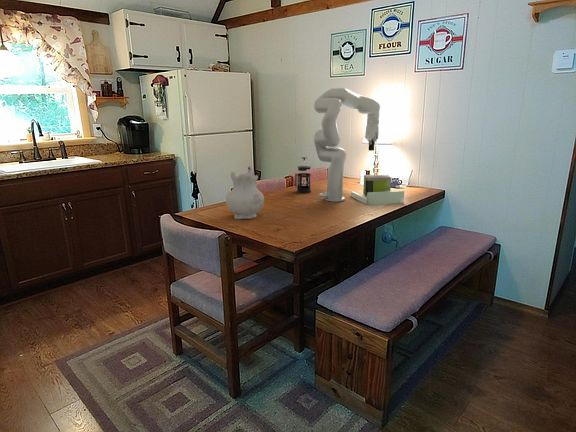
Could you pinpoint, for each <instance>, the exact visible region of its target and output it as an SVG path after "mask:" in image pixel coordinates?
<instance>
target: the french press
mask: <svg viewBox="0 0 576 432" xmlns="http://www.w3.org/2000/svg"><path fill="white" fill-rule="evenodd" d="M301 159H302V160H303V162H305V160H306V159H308V157H305V156H302V157H301ZM311 168H312V166H311V165H310V166H309V165H299V166H298V165H297V171H299V172H298V173H295V174H294V187H296V193H297V192H298V193H297V194H310V193H311V192H312V190H311V188H312V187H311V177H312V174H311V173H307V172H306V171H307V170H311ZM303 178H305V180H303Z"/></svg>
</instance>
